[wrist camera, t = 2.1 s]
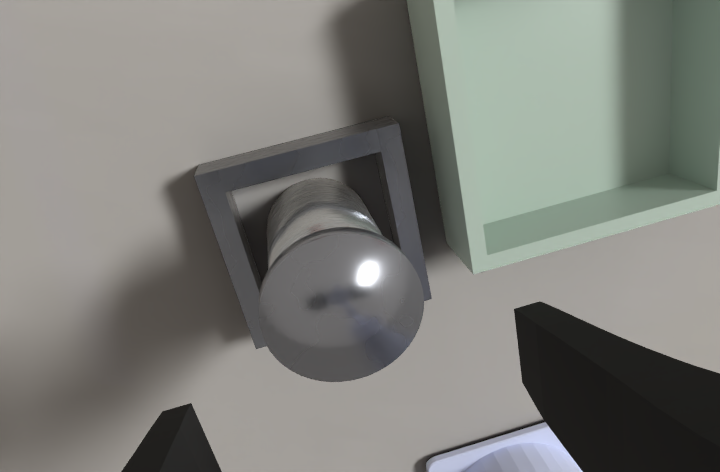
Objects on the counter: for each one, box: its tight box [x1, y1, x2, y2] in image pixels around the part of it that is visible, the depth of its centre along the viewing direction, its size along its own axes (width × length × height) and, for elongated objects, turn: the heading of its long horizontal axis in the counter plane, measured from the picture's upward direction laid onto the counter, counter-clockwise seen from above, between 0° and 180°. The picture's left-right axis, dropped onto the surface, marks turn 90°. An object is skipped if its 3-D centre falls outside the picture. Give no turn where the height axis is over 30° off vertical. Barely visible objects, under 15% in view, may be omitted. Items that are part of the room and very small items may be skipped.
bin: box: [406, 0, 720, 274], centre depth 19 cm, size 10×10×3 cm
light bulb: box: [259, 178, 424, 382], centre depth 18 cm, size 5×5×7 cm
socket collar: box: [194, 116, 432, 349], centre depth 20 cm, size 7×7×2 cm
